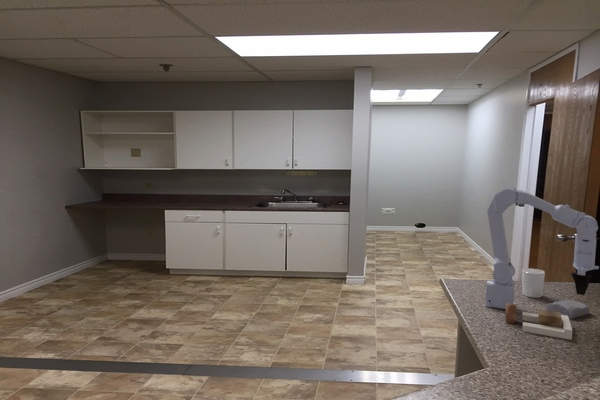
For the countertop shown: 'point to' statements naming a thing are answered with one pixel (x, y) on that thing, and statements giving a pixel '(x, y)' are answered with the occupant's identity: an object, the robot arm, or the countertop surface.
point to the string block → (543, 317)
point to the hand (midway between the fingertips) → (582, 291)
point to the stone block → (569, 308)
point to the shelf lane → (547, 327)
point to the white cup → (532, 282)
